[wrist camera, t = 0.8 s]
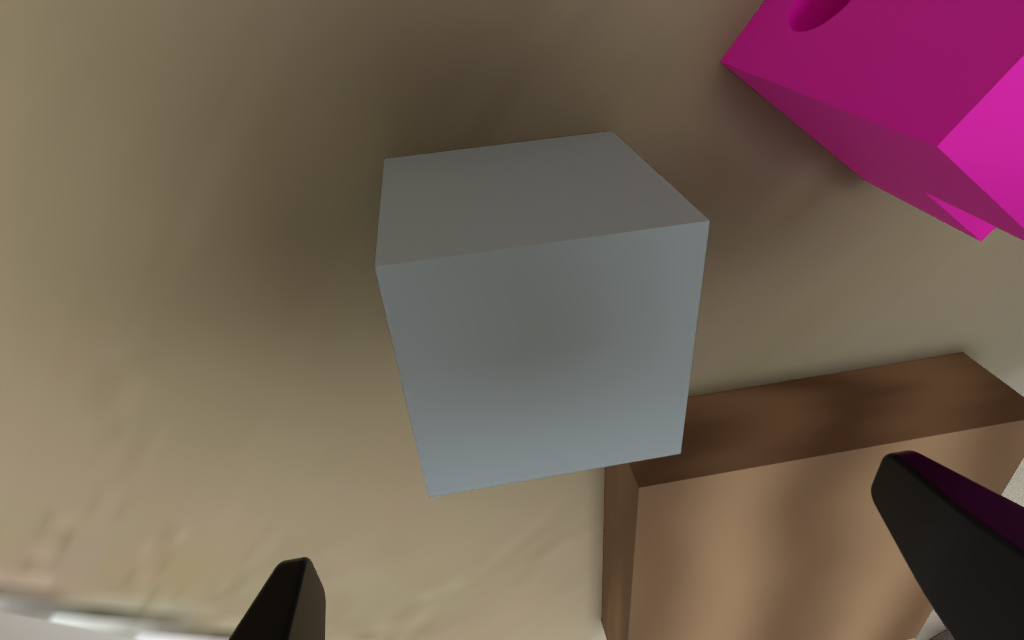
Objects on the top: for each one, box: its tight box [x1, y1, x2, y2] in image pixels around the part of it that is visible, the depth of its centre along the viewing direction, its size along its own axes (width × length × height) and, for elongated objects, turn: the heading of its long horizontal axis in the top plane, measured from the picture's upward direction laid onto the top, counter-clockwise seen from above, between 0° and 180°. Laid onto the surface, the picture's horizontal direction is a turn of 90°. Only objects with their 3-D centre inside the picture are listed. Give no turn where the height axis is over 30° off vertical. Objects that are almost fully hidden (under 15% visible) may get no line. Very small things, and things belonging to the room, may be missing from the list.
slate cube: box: [375, 131, 710, 497], centre depth 14 cm, size 6×6×6 cm
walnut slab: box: [601, 352, 1024, 640], centre depth 24 cm, size 14×14×4 cm
